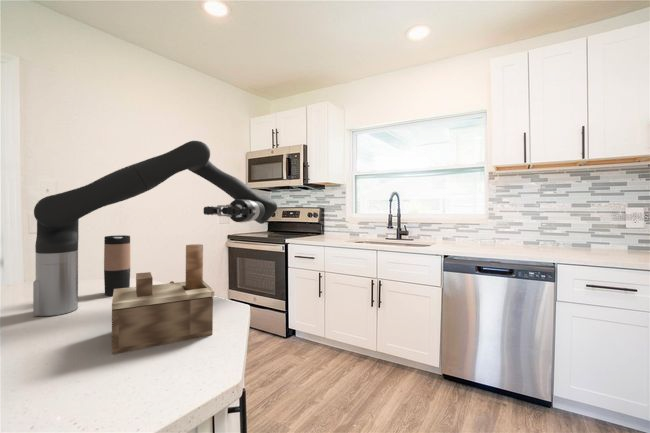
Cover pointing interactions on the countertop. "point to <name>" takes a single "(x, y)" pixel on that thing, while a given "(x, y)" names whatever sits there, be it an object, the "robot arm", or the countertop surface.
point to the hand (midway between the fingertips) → (218, 210)
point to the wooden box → (161, 324)
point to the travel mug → (116, 263)
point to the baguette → (194, 266)
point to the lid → (155, 293)
